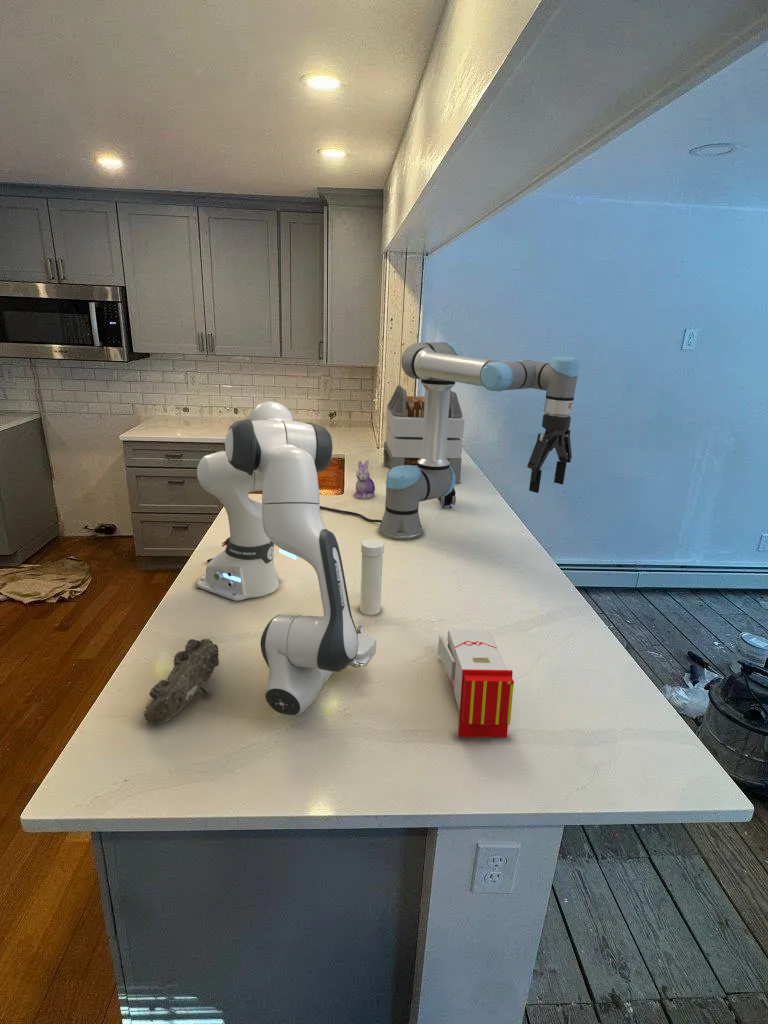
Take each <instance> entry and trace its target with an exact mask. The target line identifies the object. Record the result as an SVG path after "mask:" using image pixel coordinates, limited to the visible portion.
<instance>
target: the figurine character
mask: <svg viewBox="0 0 768 1024" xmlns="http://www.w3.org/2000/svg"><path fill="white" fill-rule="evenodd" d="M437 500H438V503H439V504H440V505H442V509H445V507H449V509H452V506H454V505H455V506H456V503H457V496H456V490H455V487H454V488H453V490H452V491H451V492H450V493H449V494H448V495H446V496H443V497H441V498H437Z"/></svg>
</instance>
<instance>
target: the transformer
mask: <svg viewBox="0 0 768 1024" xmlns="http://www.w3.org/2000/svg"><path fill="white" fill-rule="evenodd" d="M407 394H408V393H407V390H406V389H404V388H403V387H402V385H399V384H398V385H397V386H396V388H395V390H394V392H393V394H392V395H391V398H390V400H389V402H388V404H387V405H386V413H385V414H386V415H385V423H386V428H385V438H384V442H383V466H384V467H388V468H389V470H390V469H392V468H394V467H397V466H401V465H404V466H406V465H413V466H417V460H419V459H420V458H421V457H422V442H423V422H424V402H425V396H415V395H414V396H413V395H412V396H411V395H407ZM464 429H465V419H464V418H463V411H462V408H461V405H460V402H459V398H458V395H457V392H455V391H453V390H452V389H450V402H449V417H448V432H447V448H446V459H447V460H448V461H449V462H450V467H452V469H453V473H455V484H459V483H461V472H462V461H463V460H462V453H463V442H464V441H463V440H462V439H463V438H464V431H465V430H464Z"/></svg>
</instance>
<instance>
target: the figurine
mask: <svg viewBox="0 0 768 1024" xmlns="http://www.w3.org/2000/svg"><path fill="white" fill-rule="evenodd" d="M369 465H370V461H369V460H366V461H365V462H364V464H363V463H362V461H361V460H358V462H357V468H358V470H357V472H356V478H357V481H356V483H355V493H354V494H355V498H357V499H363V500H364V499H370V498H373V497H374V496H375V492H376V486H375V482H374V480H373V479H372V478H371V477H370V476H371V474H370V471H369V469H368V468H369Z"/></svg>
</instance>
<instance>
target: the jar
mask: <svg viewBox="0 0 768 1024" xmlns="http://www.w3.org/2000/svg"><path fill="white" fill-rule="evenodd" d="M383 558H384V554H383V555H381V556H377V557H370V556H366V555H363V554H362V553H361V566H360V567H361V570H360V571H361V572H360V596H359V597H360V598H359V601H360V602H359V611H360V613H362V614H364V615H367V616H374V615H377V614H379V613H380V612H381V602H382V583H383V582H382V581H383V580H382V579H383V562H384V561H383V560H384V559H383Z"/></svg>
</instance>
